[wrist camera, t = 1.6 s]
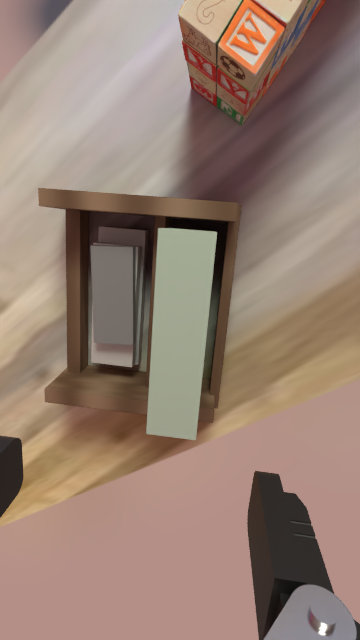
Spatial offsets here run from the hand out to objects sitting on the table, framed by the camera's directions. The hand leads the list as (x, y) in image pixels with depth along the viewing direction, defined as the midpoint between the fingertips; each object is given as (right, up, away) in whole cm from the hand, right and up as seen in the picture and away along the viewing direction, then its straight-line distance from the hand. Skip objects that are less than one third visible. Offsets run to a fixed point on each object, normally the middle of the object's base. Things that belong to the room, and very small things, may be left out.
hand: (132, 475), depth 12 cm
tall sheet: (+3, +7, +27) cm, 28 cm away
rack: (-2, +8, +27) cm, 29 cm away
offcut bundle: (-5, +8, +28) cm, 30 cm away
